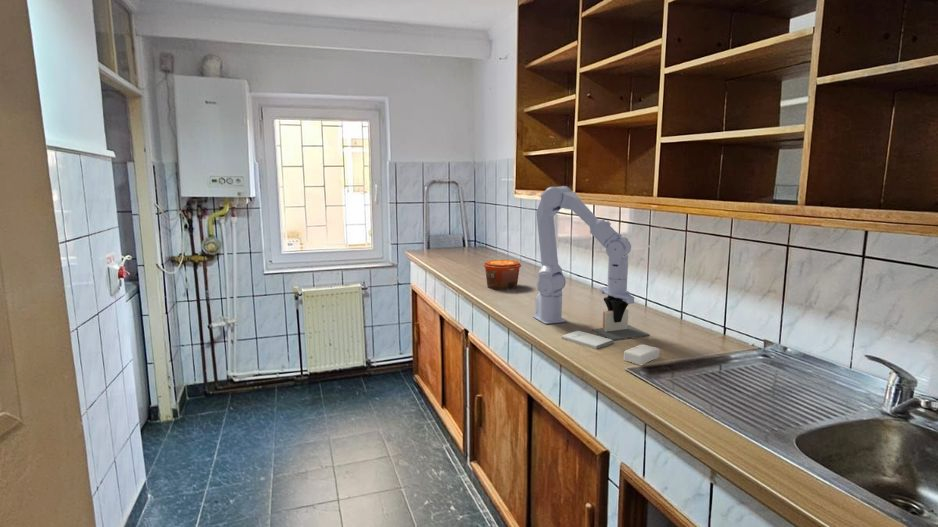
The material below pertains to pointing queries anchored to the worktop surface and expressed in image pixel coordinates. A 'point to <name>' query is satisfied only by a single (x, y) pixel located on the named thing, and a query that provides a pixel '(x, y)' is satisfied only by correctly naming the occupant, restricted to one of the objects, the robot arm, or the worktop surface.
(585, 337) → the external hard drive
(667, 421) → the worktop surface
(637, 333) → the mat
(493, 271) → the food container
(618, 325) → the tile
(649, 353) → the soap
